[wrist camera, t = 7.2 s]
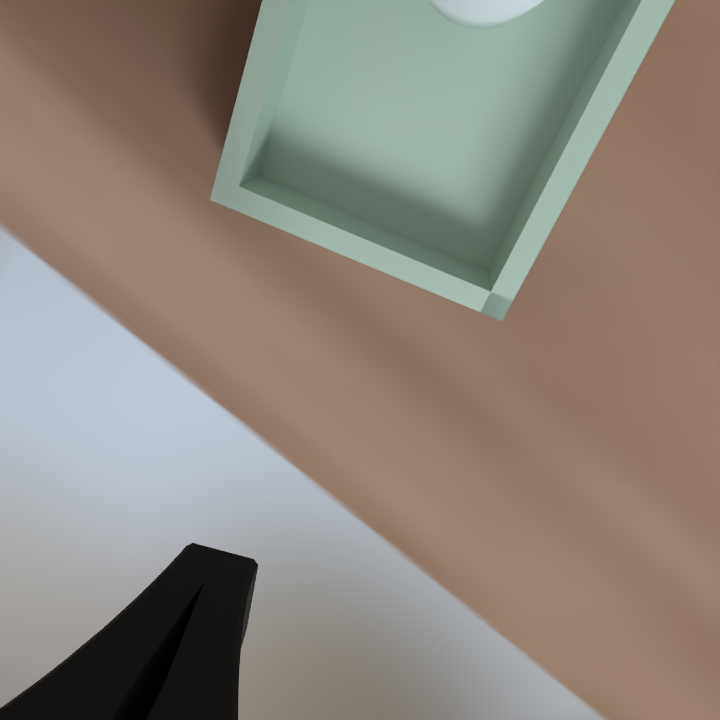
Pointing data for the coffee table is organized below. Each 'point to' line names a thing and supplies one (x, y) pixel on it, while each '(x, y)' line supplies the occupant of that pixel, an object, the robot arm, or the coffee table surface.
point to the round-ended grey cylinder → (482, 11)
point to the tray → (427, 131)
